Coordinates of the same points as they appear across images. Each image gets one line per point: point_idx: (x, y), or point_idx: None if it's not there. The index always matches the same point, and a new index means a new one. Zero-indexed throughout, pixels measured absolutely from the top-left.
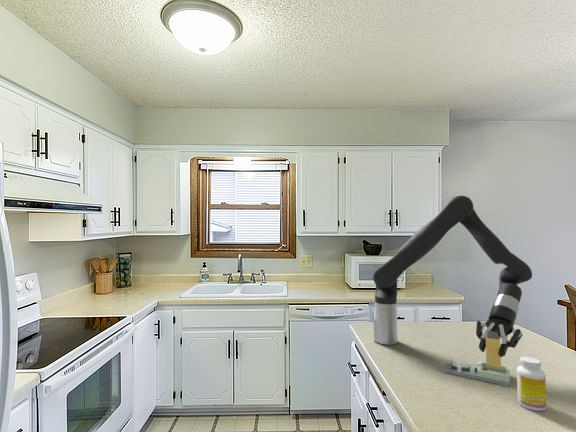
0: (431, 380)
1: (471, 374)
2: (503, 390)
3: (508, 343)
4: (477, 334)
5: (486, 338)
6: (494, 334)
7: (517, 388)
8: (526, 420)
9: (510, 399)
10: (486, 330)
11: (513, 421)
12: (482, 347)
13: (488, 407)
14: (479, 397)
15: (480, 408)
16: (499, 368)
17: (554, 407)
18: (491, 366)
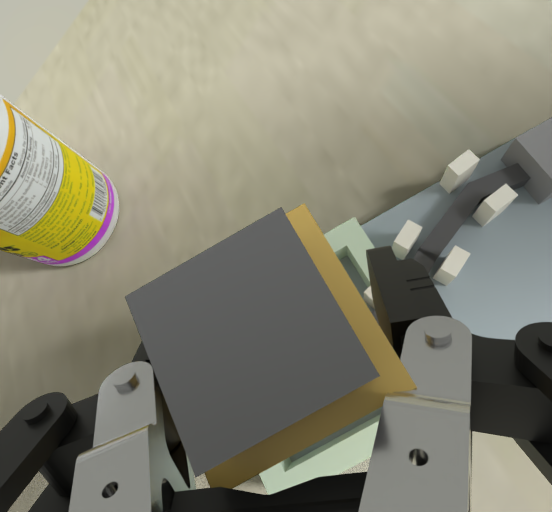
0: (469, 10)
1: (385, 213)
2: (207, 242)
3: (91, 411)
4: (549, 325)
5: (293, 210)
6: (174, 268)
7: (72, 151)
8: (56, 98)
9: (149, 188)
10: (446, 436)
11: (80, 55)
12: (368, 260)
13: (172, 54)
14: (234, 85)
15: (185, 23)
16: (326, 446)
17: (14, 288)
18: (374, 421)
